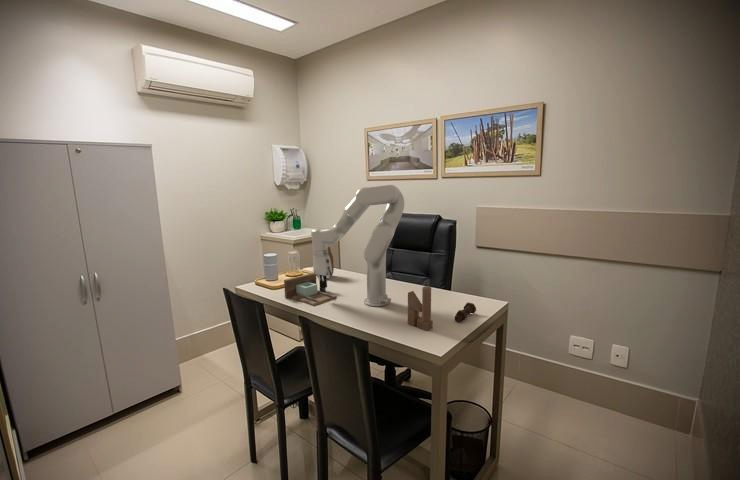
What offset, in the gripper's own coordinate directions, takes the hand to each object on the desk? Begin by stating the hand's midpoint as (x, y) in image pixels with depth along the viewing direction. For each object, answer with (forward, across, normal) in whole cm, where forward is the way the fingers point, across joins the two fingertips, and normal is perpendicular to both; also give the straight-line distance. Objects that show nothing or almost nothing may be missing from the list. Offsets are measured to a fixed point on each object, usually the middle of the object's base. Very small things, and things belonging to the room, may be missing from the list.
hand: (323, 287), depth 185 cm
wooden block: (+10, -56, -4) cm, 57 cm away
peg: (+7, +14, -10) cm, 18 cm away
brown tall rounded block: (+6, +36, -31) cm, 48 cm away
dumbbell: (+12, -66, -25) cm, 71 cm away
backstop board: (+6, +10, +1) cm, 12 cm away
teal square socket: (+5, +14, +1) cm, 15 cm away
